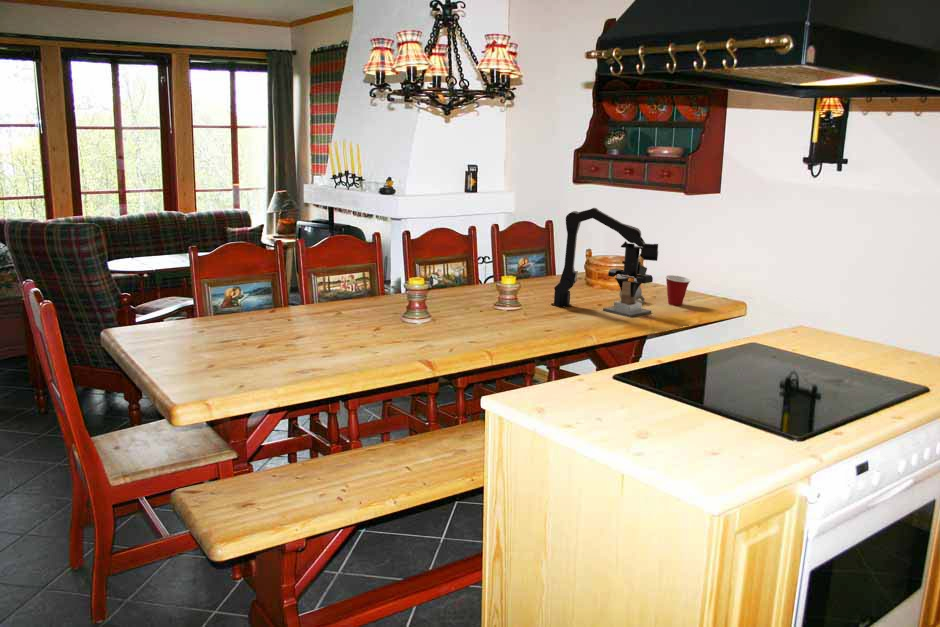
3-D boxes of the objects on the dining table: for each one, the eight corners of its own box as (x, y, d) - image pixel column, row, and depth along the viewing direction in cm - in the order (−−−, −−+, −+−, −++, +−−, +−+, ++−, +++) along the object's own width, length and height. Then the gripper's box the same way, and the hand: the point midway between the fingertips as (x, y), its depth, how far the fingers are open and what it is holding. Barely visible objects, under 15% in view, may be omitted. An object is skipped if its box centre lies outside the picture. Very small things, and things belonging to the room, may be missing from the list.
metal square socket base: (630, 317, 309) (631, 307, 308) (603, 310, 319) (603, 301, 318) (651, 313, 318) (652, 303, 317) (624, 306, 328) (625, 297, 327)
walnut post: (628, 307, 315) (630, 283, 313) (620, 305, 318) (622, 281, 316) (634, 306, 318) (636, 282, 315) (626, 304, 321) (628, 280, 318)
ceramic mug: (617, 301, 338) (619, 284, 336) (625, 298, 344) (627, 281, 342) (639, 305, 332) (641, 288, 330) (647, 302, 338) (649, 285, 336)
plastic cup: (683, 308, 328) (686, 280, 325) (659, 304, 334) (661, 277, 331) (691, 304, 337) (694, 277, 334) (667, 300, 343) (670, 274, 340)
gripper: (662, 260, 312) (658, 298, 315) (625, 254, 325) (622, 290, 329) (645, 263, 304) (642, 301, 308) (608, 256, 318) (605, 293, 322)
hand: (628, 296), depth 317 cm, fingers closed on walnut post, 4 cm apart
